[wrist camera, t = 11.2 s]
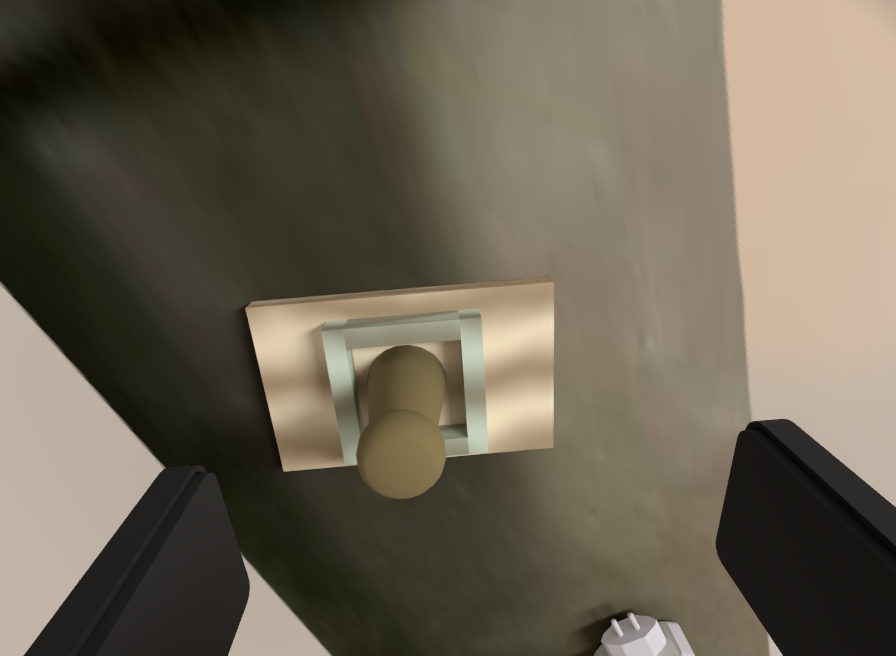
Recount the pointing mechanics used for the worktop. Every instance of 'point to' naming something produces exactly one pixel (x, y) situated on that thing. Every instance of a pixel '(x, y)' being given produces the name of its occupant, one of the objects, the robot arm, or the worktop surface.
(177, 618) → the robot arm
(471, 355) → the socket board
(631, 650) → the charger
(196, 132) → the worktop surface
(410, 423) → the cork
